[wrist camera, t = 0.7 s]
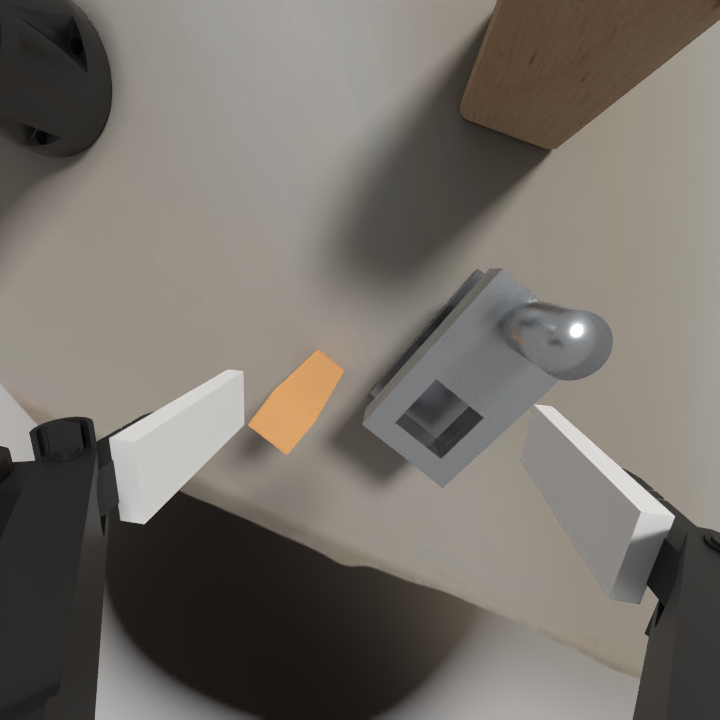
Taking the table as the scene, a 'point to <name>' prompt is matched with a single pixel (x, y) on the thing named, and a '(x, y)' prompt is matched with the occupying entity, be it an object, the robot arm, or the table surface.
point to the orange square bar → (297, 402)
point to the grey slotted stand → (480, 371)
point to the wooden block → (572, 60)
